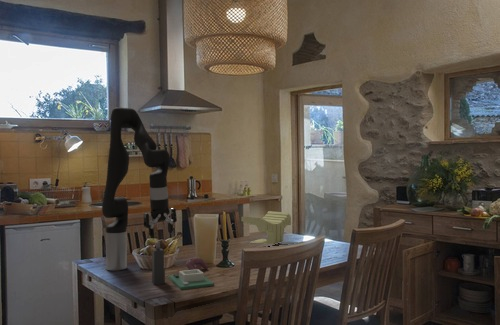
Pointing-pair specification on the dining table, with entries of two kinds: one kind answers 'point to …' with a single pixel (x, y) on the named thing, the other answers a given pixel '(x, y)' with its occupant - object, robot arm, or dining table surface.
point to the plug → (158, 265)
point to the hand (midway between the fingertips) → (161, 234)
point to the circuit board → (190, 279)
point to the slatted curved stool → (270, 226)
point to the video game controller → (198, 262)
